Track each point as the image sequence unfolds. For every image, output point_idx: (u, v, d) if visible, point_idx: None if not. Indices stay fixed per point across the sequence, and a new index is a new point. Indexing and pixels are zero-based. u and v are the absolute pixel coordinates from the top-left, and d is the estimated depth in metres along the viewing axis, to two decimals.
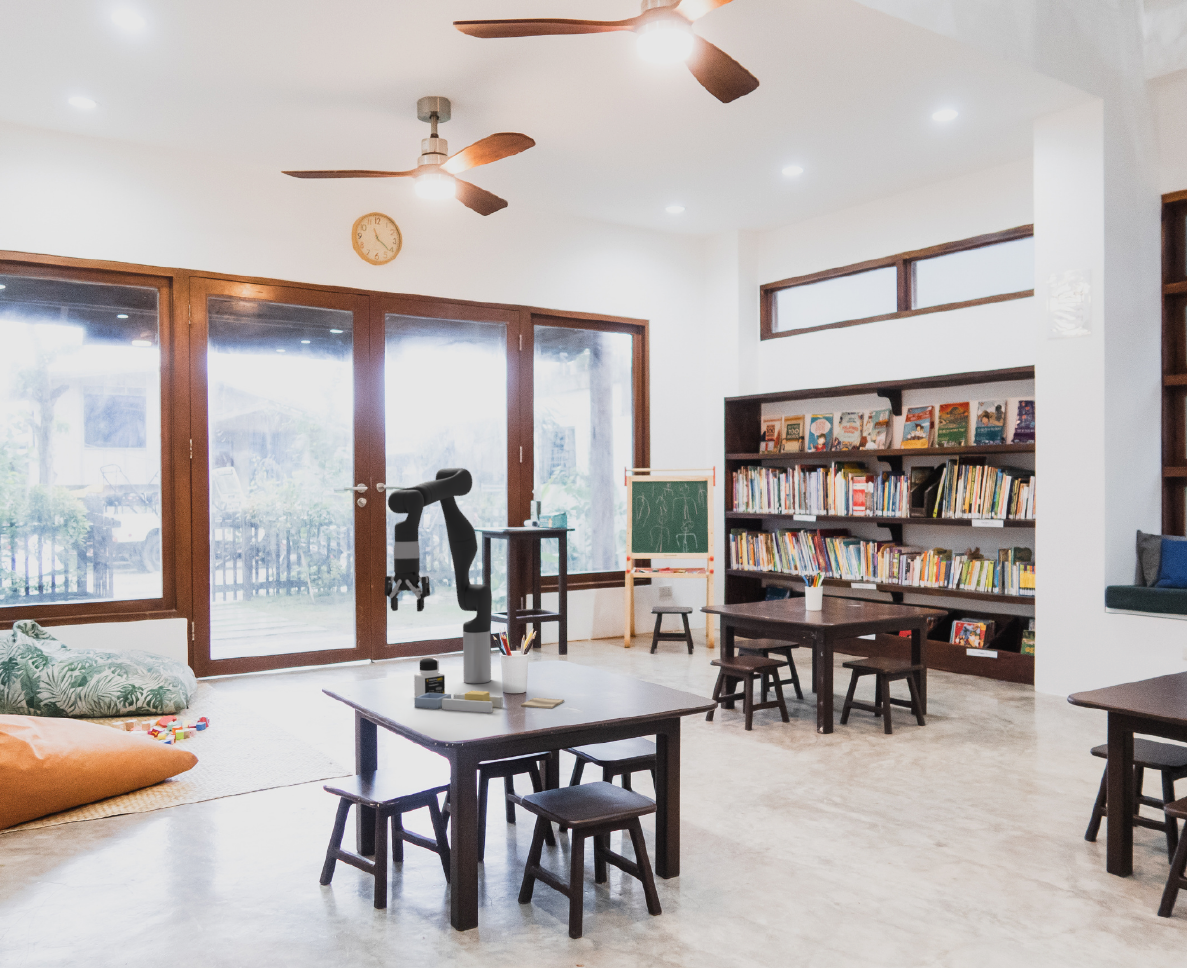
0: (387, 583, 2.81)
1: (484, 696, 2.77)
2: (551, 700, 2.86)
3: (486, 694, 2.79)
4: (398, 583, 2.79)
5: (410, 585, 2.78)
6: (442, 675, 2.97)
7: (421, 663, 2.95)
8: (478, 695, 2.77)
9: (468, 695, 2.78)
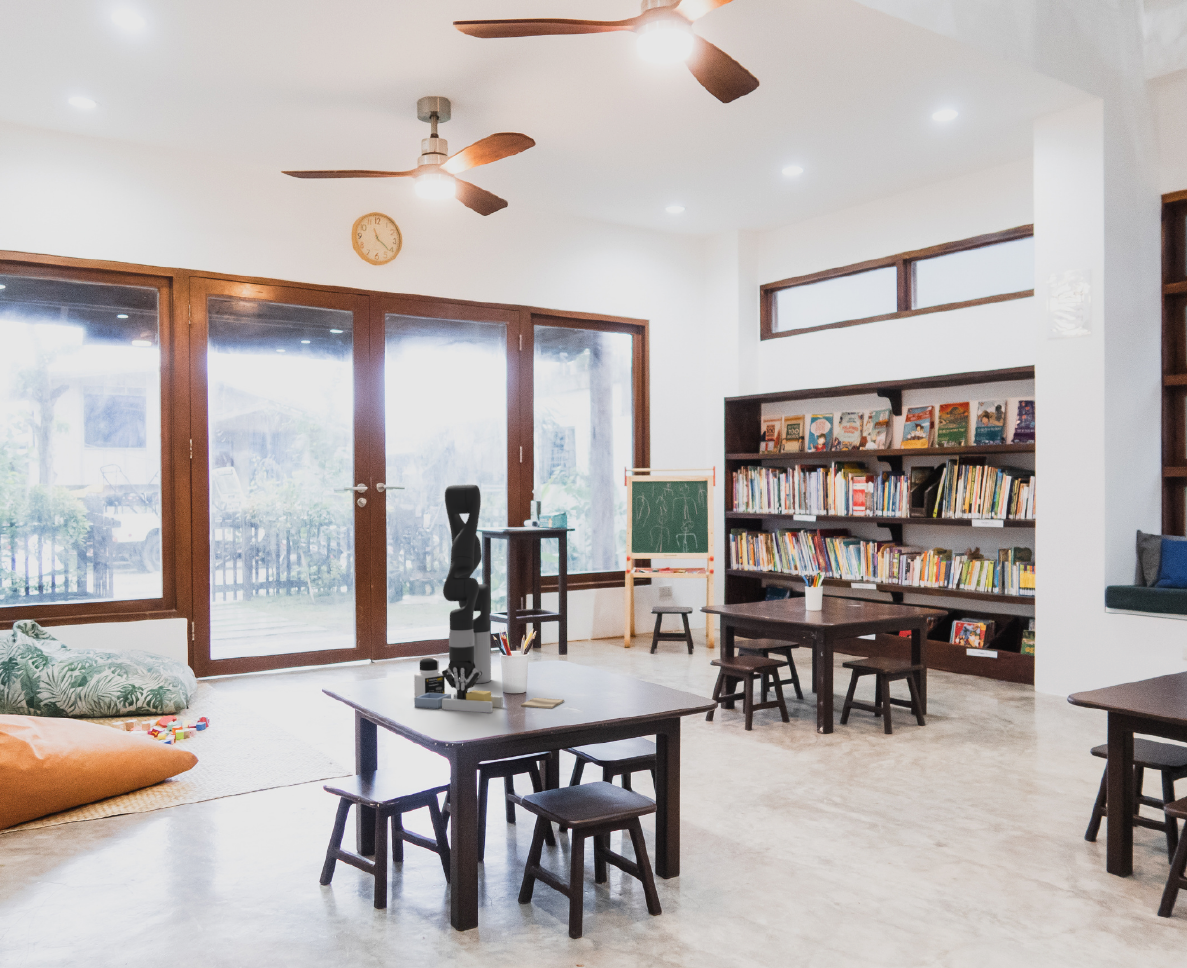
0: (447, 676, 2.81)
1: (486, 696, 2.77)
2: (551, 700, 2.86)
3: (488, 694, 2.78)
4: (455, 672, 2.80)
5: (462, 674, 2.79)
6: (442, 675, 2.97)
7: (421, 663, 2.95)
8: (480, 695, 2.77)
9: (470, 695, 2.78)
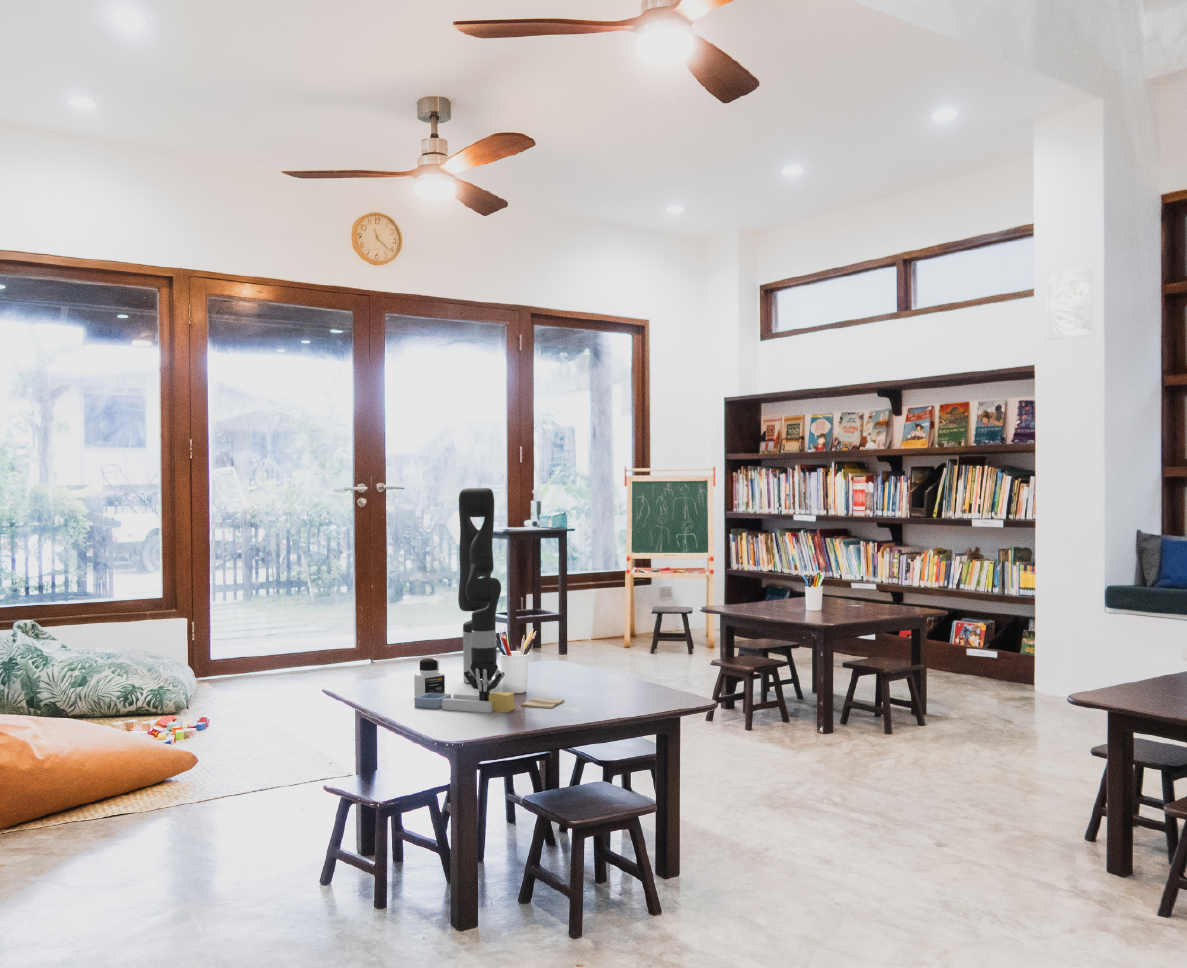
0: (469, 677, 2.79)
1: (508, 697, 2.75)
2: (551, 700, 2.86)
3: (510, 695, 2.76)
4: (477, 673, 2.77)
5: (485, 675, 2.76)
6: (442, 675, 2.97)
7: (421, 663, 2.95)
8: (502, 696, 2.74)
9: (492, 696, 2.75)
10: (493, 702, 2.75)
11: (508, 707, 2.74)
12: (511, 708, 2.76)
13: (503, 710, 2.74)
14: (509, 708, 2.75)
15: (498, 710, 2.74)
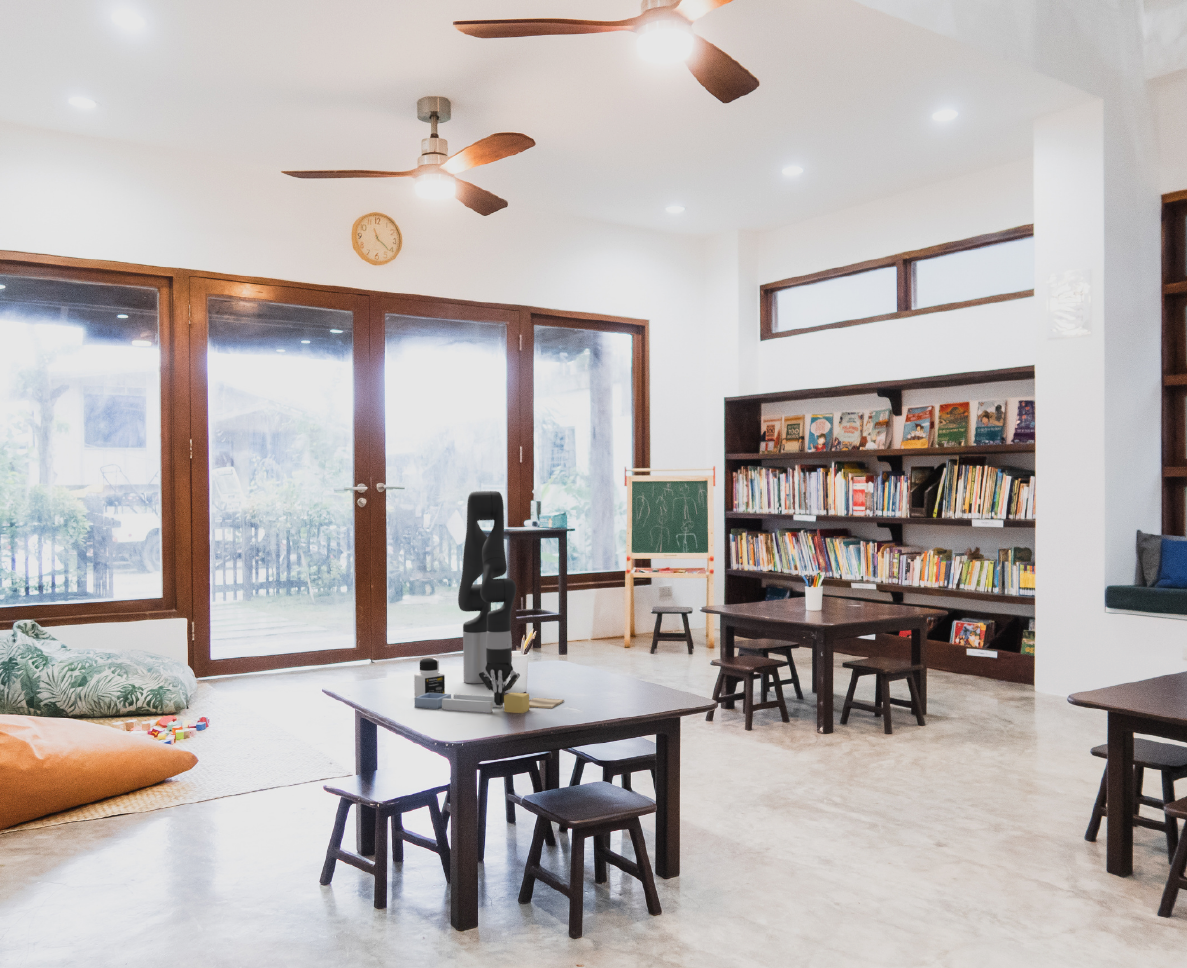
0: (484, 678, 2.77)
1: (524, 698, 2.73)
2: (551, 700, 2.86)
3: (526, 696, 2.74)
4: (492, 674, 2.76)
5: (500, 677, 2.75)
6: (442, 675, 2.97)
7: (421, 663, 2.95)
8: (518, 697, 2.73)
9: (508, 697, 2.74)
10: (508, 703, 2.74)
11: (524, 708, 2.73)
12: (526, 709, 2.75)
13: (518, 711, 2.72)
14: (525, 709, 2.74)
15: (514, 711, 2.73)
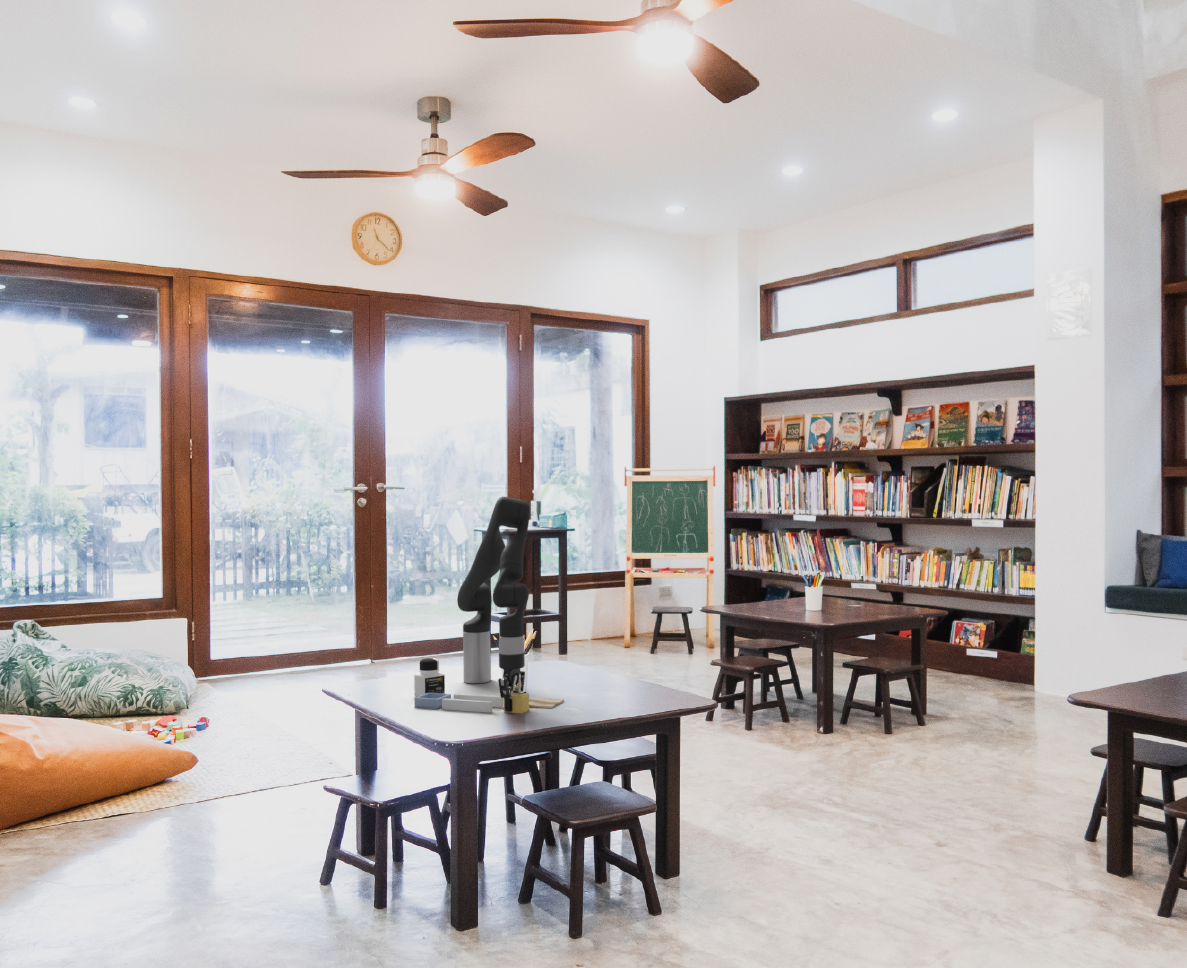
0: None
1: (524, 698, 2.73)
2: (551, 700, 2.86)
3: (526, 696, 2.74)
4: None
5: None
6: (442, 675, 2.97)
7: (421, 663, 2.95)
8: (518, 697, 2.72)
9: None
10: None
11: (524, 708, 2.73)
12: (526, 709, 2.74)
13: (518, 711, 2.72)
14: (525, 709, 2.73)
15: (513, 712, 2.73)
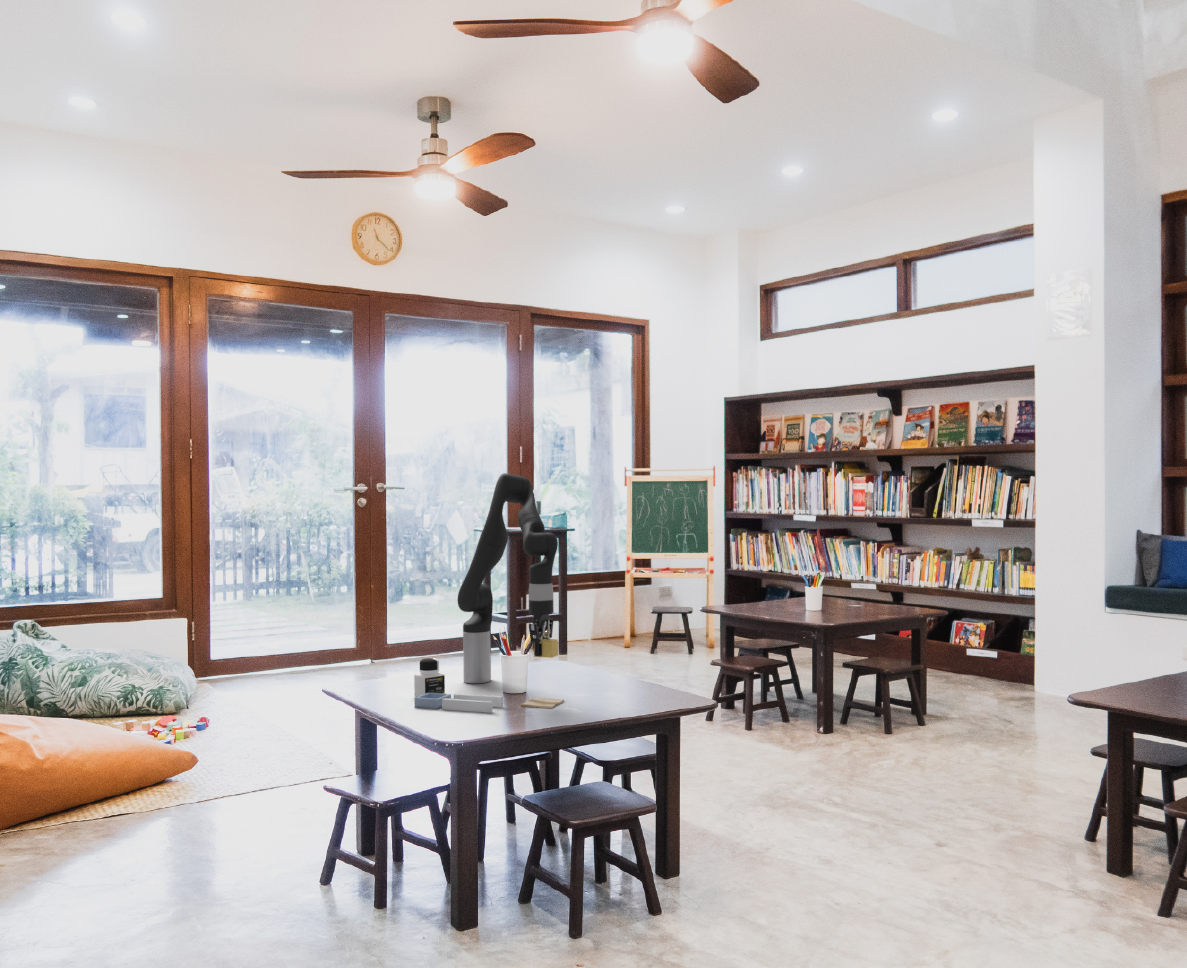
0: None
1: (553, 643, 2.82)
2: (551, 700, 2.86)
3: (555, 641, 2.83)
4: None
5: None
6: (442, 675, 2.97)
7: (421, 663, 2.95)
8: (547, 642, 2.81)
9: None
10: None
11: (553, 652, 2.82)
12: (555, 654, 2.83)
13: (548, 655, 2.81)
14: (554, 654, 2.82)
15: (543, 656, 2.82)
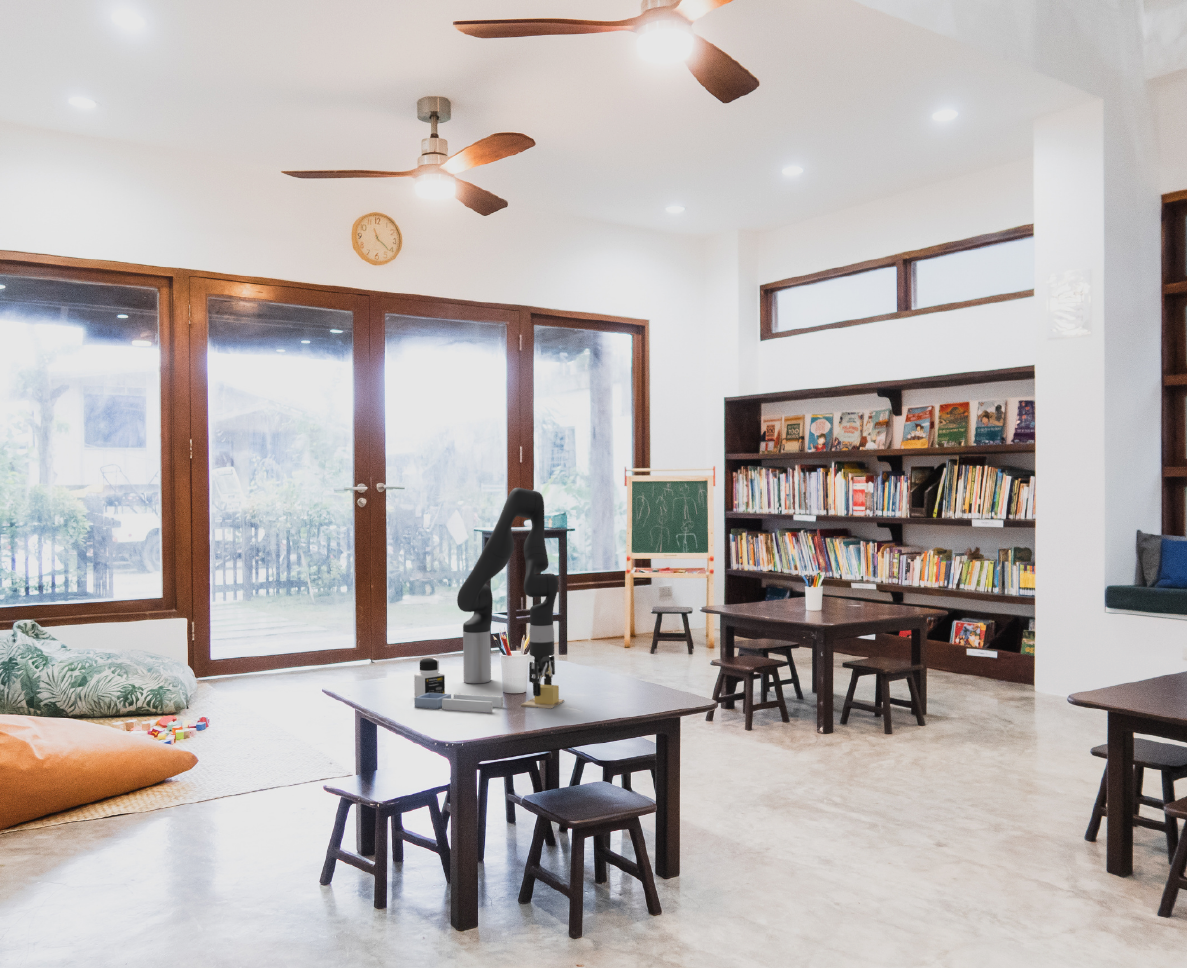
0: None
1: (554, 690, 2.82)
2: None
3: (556, 688, 2.83)
4: None
5: None
6: (442, 675, 2.97)
7: (421, 663, 2.95)
8: (548, 689, 2.81)
9: None
10: None
11: (554, 699, 2.81)
12: (556, 700, 2.83)
13: (549, 702, 2.81)
14: (555, 700, 2.82)
15: (544, 703, 2.81)
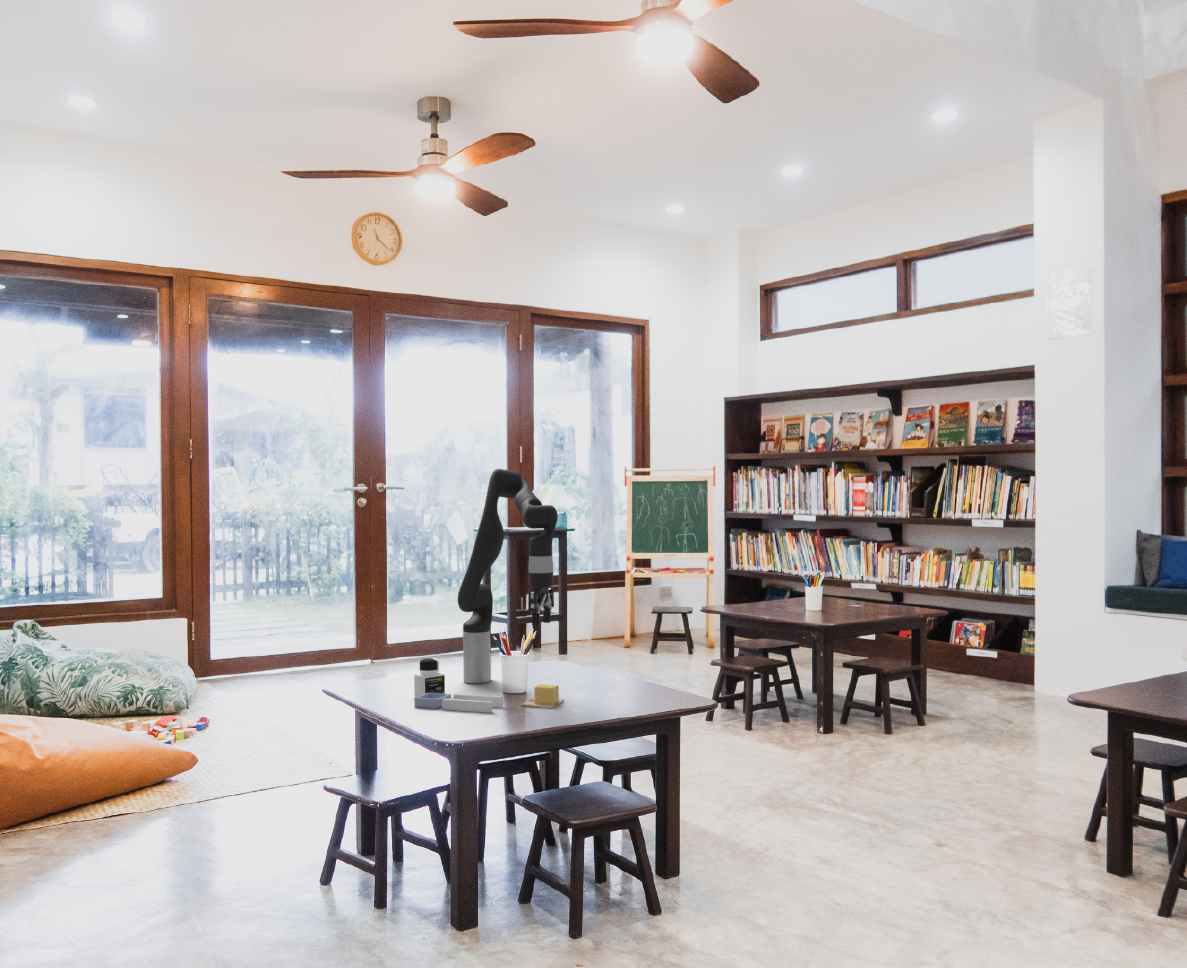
0: None
1: (554, 690, 2.82)
2: None
3: (556, 688, 2.83)
4: None
5: None
6: (442, 675, 2.97)
7: (421, 663, 2.95)
8: (548, 689, 2.81)
9: (538, 689, 2.82)
10: (539, 694, 2.82)
11: (554, 699, 2.81)
12: (556, 700, 2.83)
13: (549, 702, 2.81)
14: (555, 700, 2.82)
15: (544, 703, 2.81)
